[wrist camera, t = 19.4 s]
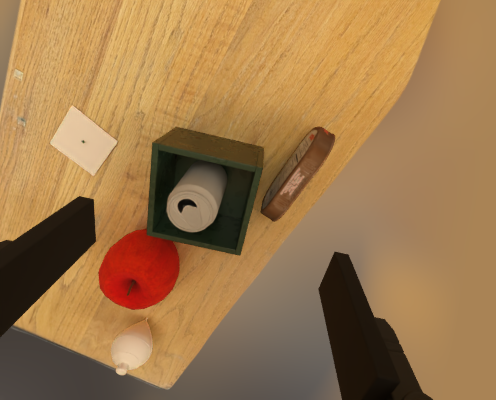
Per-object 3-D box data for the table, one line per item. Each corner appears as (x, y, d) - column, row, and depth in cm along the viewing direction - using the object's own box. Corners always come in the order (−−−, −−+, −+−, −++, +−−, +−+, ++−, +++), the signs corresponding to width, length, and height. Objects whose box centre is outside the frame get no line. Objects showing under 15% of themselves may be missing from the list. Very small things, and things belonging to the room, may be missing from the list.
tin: (273, 206, 46) (274, 233, 39) (257, 197, 46) (255, 223, 38) (330, 129, 40) (344, 144, 33) (312, 118, 40) (323, 130, 32)
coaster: (49, 143, 44) (45, 144, 43) (72, 104, 41) (68, 105, 40) (93, 176, 46) (90, 177, 45) (118, 141, 43) (115, 143, 42)
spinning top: (127, 303, 58) (95, 356, 48) (162, 306, 58) (138, 360, 47) (131, 328, 62) (103, 383, 51) (165, 331, 62) (143, 387, 51)
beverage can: (217, 151, 42) (200, 181, 31) (234, 187, 44) (224, 226, 34) (181, 166, 43) (153, 199, 33) (200, 200, 46) (179, 241, 35)
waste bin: (263, 147, 42) (262, 168, 33) (245, 221, 48) (240, 255, 39) (176, 126, 41) (152, 142, 33) (168, 204, 47) (146, 235, 39)
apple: (139, 269, 54) (103, 327, 42) (116, 218, 49) (67, 267, 37) (196, 262, 52) (176, 321, 40) (178, 209, 48) (149, 257, 36)
